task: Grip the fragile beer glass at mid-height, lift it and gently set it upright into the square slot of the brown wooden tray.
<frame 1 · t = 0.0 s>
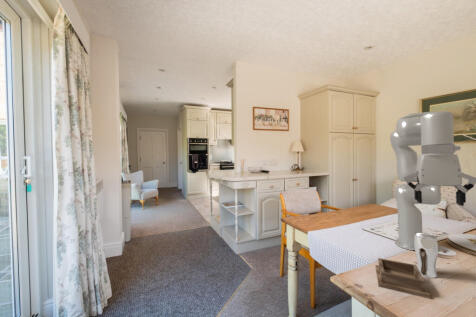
hand: (438, 203, 65), 31 cm above the table, tool pointing down, fingers open, 9 cm apart
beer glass: (426, 274, 80), on the table
brown wooden tray: (399, 281, 75), on the table
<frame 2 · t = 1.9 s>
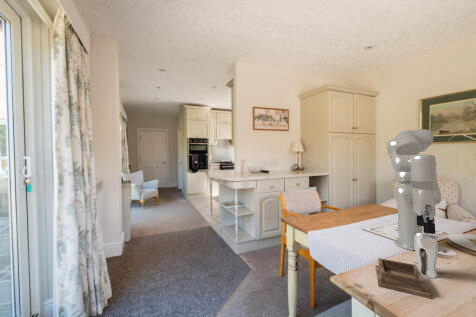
hand: (425, 229, 79), 18 cm above the table, tool pointing down, fingers open, 9 cm apart
nothing on the table moved.
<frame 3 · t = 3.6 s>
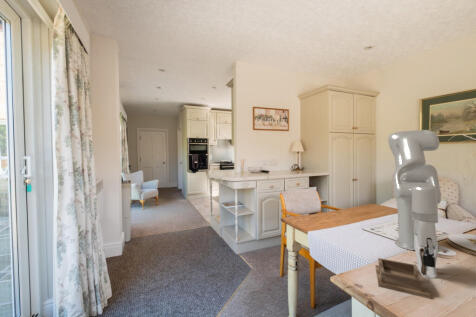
hand: (426, 261, 80), 5 cm above the table, tool pointing down, fingers closed on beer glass, 6 cm apart
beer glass: (426, 274, 80), on the table, touching gripper
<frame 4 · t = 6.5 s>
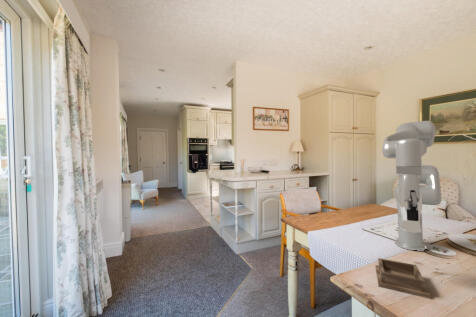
hand: (410, 217, 77), 23 cm above the table, tool pointing down, fingers closed on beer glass, 6 cm apart
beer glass: (410, 230, 77), point 18 cm above the table, touching gripper
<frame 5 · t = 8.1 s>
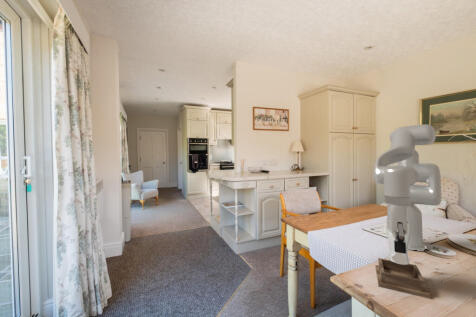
hand: (398, 248, 75), 12 cm above the table, tool pointing down, fingers closed on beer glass, 6 cm apart
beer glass: (398, 261, 75), point 8 cm above the table, touching gripper
when the fingers open (7 cm above the table, at t = 9.6 s): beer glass drops 1 cm, resting on brown wooden tray.
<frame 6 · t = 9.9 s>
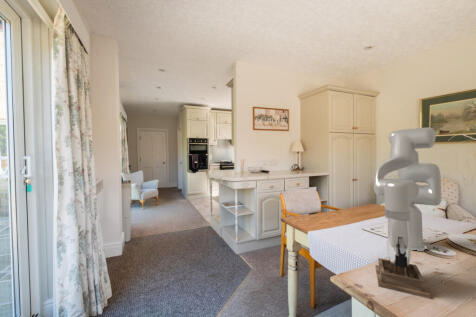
hand: (398, 260, 75), 8 cm above the table, tool pointing down, fingers open, 9 cm apart
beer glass: (399, 278, 76), point 1 cm above the table, touching brown wooden tray
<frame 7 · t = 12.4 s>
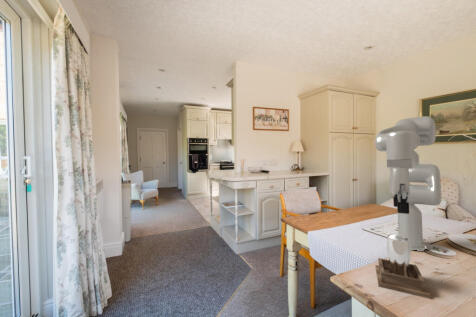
hand: (400, 209, 76), 27 cm above the table, tool pointing down, fingers open, 9 cm apart
nothing on the table moved.
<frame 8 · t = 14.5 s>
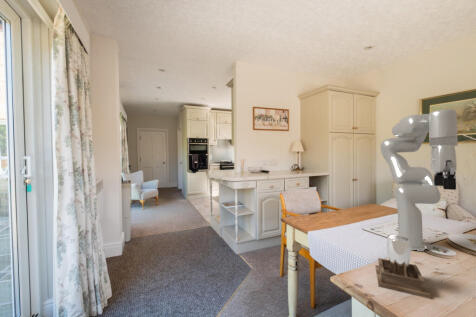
hand: (444, 187, 77), 34 cm above the table, tool pointing down, fingers open, 9 cm apart
nothing on the table moved.
at the end: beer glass 0.3 cm off-centre on the brown wooden tray, point 1.0 cm above the brown wooden tray's base; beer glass tilted 0°; the gripper is holding nothing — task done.
